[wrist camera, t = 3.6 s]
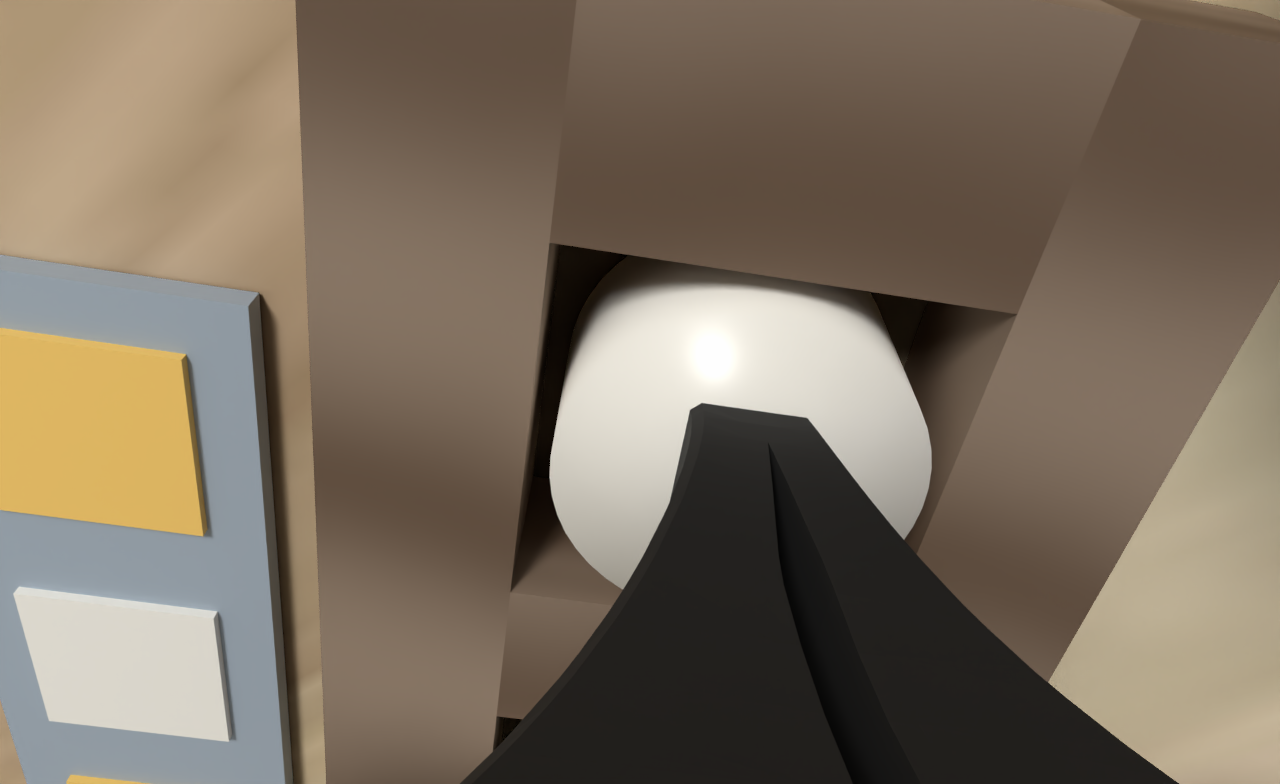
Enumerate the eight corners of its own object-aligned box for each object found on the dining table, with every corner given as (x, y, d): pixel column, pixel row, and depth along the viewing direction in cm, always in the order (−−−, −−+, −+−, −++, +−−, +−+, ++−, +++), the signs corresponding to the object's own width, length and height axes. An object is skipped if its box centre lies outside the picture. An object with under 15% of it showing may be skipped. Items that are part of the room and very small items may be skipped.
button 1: (588, 197, 12) (572, 285, 10) (931, 251, 12) (988, 347, 10) (552, 474, 14) (533, 594, 12) (839, 513, 14) (868, 637, 12)
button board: (369, -145, 10) (290, -131, 8) (1256, 11, 11) (1403, 65, 9) (368, 1018, 24) (340, 1137, 22) (754, 1056, 24) (763, 1175, 22)
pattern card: (-121, 236, 12) (-153, 254, 12) (259, 292, 13) (243, 311, 12) (69, 869, 20) (56, 894, 20) (301, 894, 21) (292, 919, 20)
